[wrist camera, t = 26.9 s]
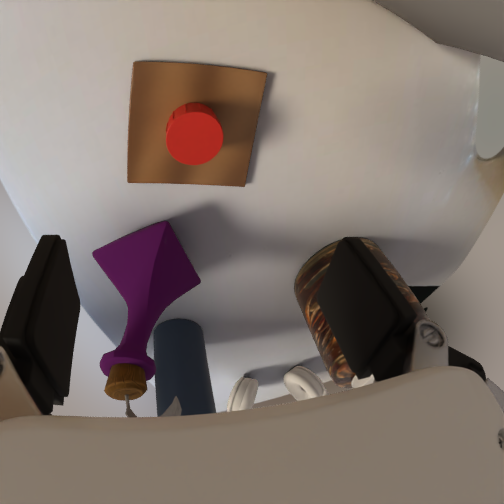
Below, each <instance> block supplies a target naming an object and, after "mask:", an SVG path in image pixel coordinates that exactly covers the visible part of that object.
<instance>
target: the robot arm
mask: <svg viewBox="0 0 504 504" xmlns="http://www.w3.org/2000/svg"><path fill="white" fill-rule="evenodd" d="M317 302H318V305H319V307H320V309H321V311H322V313H323V315H324V317H325V319H326V321H327V323H328V325H329V327H330V329H331V331H332V333H333V335H334V337H335V339H336V341H337V343H338V345H339V347H340V349H341V351H342V353H343V355H344V357H345V359H346V361H347V363H348V365H349V367H350V369H351V371H352V372H353V373H355V374H356V376H357V378H358V380H360V379H364V378H368V377H370V376H371V375H373V376H374V381H373V383H372V384H369V385H365V386H361V387H357V388H354V389H350V390H346V391H342V392H338V393H334V394H329V395H324V396H320V397H315V398H311V399H306V400H301V401H296V402H290V403H285V404H280V405H273V406H267V407H260V408H253V409H246V410H238V411H230V412H221V413H211V414H200V415H186V416H169V417H82V416H54V415H52V414H51V412H52V411H53V405H63V402H64V397H67V396H68V394H69V386H70V376H71V367H72V358H73V351H74V343H75V337H76V330H77V324H78V318H79V313H80V299H79V295H78V292H77V288H76V284H75V280H74V276H73V272H72V268H71V263H70V259H69V254H68V250H67V245H66V241H65V240H64V239H61V238H60V236H59V235H43V236H42V237H41V239H40V241H39V243H38V245H37V247H36V249H35V252H34V254H33V256H32V258H31V261H30V263H29V265H28V268H27V270H26V272H25V275H24V276H22V277H21V278H20V279H19V281H18V283H17V286H16V288H15V291H14V294H13V296H12V299H11V302H10V305H9V307H8V310H7V313H6V316H5V319H4V322H3V325H2V328H1V331H0V504H504V392H503V391H502V390H501V389H500V388H499V387H498V386H497V385H496V384H494V383H493V382H492V381H491V380H490V379H489V378H487V379H486V376H485V372H484V370H483V367H482V365H481V364H480V363H479V362H477V361H476V360H474V359H472V358H470V357H468V356H466V355H465V354H463V353H461V352H459V351H457V350H455V349H453V348H451V347H449V346H448V339H447V336H446V334H445V332H444V330H443V329H442V328H441V327H440V326H439V325H438V324H436V323H435V322H433V321H430V320H425V319H423V320H420V321H419V322H418V323H417V324H415V323H414V320H415V318H416V317H417V316H418V315H417V314H416V313H415V311H414V310H413V308H412V307H411V305H410V304H409V303H408V301H407V300H406V298H405V297H404V296H403V294H402V293H401V291H400V290H399V289H398V287H397V286H396V284H395V283H394V282H393V280H392V279H391V278H390V276H389V275H388V274H387V272H386V271H385V270H384V268H383V267H382V266H381V264H380V263H379V262H378V260H377V259H376V258H375V257H374V255H373V254H372V253H371V251H370V250H369V249H368V248H367V246H366V245H365V244H364V243H363V241H362V240H361V239H360V238H358V237H345V238H343V239H342V241H340V242H338V244H337V247H336V249H335V252H334V254H333V257H332V259H331V262H330V264H329V266H328V269H327V271H326V274H325V276H324V278H323V281H322V283H321V285H320V288H319V290H318V292H317Z"/></svg>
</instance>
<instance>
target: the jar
mask: <svg viewBox="0 0 504 504" xmlns="http://www.w3.org/2000/svg"><path fill="white" fill-rule="evenodd" d="M360 239H361V240H362V241H363V243H364V244H365V245H366V246H367V248H368V249H369V250H370V251H371V253H372V254H373V255H374V257H375V258H376V259H377V260H378V262H379V263H380V264H381V266H382V267H383V268H384V270H385V271H386V272H387V274H388V275H389V276H390V278H391V279H392V280H393V282H394V283H395V284H396V286H397V287H398V289H399V290H400V291H401V293H402V294H403V296H404V297H405V298H406V300H407V301H408V303H409V304H410V305H411V307H412V308H413V310H414V311H415V313H416V314H417V315H418V316H417V317H416V318H415V320H414V323H415V324H417V323H418V322H419V321H420V320H423V319H425V320H429V317H428V316H427V314H426V312H425V311H424V309H423V307H422V306H421V304H420V303H419V301H418V300H417V298H416V297H415V295H414V294H413V292H412V291H411V290H410V288H409V287H408V285H407V284H406V282H405V281H404V280H403V278H402V277H401V276H400V274H399V273H398V272H397V270H396V269H395V268H394V266H393V265H392V264H391V262H390V261H389V260H388V258H387V257H386V256H385V254H384V253H383V252H382V251H381V249H380V248H379V247H378V246H377V245H376V244H375V243H374V242H372V241H371V240H368V239H365V238H360ZM340 241H342V240H340ZM340 241H337V242H335V243H332V244H330V245H328V246H326V247H325V248H323V249H322V250H320V251H319V252H317V253H316V254H315V255H313V256H312V257H311V258H310V259H309V260H308V261H307V262H306V263H305V265H304V266H303V267H302V268H301V270H300V272H299V273H298V275H297V278H296V280H295V285H294V291H295V295H296V298H297V301H298V303H299V306H300V308H301V310H302V313H303V315H304V318H305V320H306V322H307V325H308V327H309V330H310V332H311V334H312V337H313V339H314V341H315V344H316V346H317V348H318V351H319V353H320V355H321V358H322V360H323V362H324V364H325V367H326V369H327V371H328V373H329V375H330V377H331V378H332V380H333V382H334V383H335V384H336V385H337V386H339V387H342V388H353V389H354V388H357V387H361V386H365V385H369V384H372V383H373V381H374V376H373V375H371V376H370V377H368V378H364V379H360V380H358V378H357V376H356V374H355V373H353V372H352V371H351V369H350V367H349V365H348V363H347V361H346V359H345V357H344V355H343V353H342V351H341V349H340V347H339V345H338V343H337V341H336V339H335V337H334V335H333V333H332V331H331V329H330V327H329V325H328V323H327V321H326V319H325V317H324V315H323V313H322V311H321V309H320V307H319V305H318V302H317V292H318V290H319V288H320V285H321V283H322V281H323V278H324V276H325V274H326V271H327V269H328V266H329V264H330V262H331V259H332V257H333V254H334V252H335V249H336V247H337V244H338V242H340Z"/></svg>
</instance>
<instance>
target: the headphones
mask: <svg viewBox="0 0 504 504" xmlns="http://www.w3.org/2000/svg"><path fill="white" fill-rule="evenodd" d="M283 380H284V384H285V386H286V388H287V390H288V391H289V392H290V394H291V395H292V396H293V397H294V398H295V399H297V400H298V401H301V400H306V399H311V398H315V397H320V396H324V395H329V393H328V391H327V390H326V388H325V386H324V385H323V383H322V381H321V380H320V378H319V377H318V376H317V375H316V374H315V373H313V372H312V371H310V370H309V369H307V368H305V367H302V366H296V367H294V368H293V369H292V370H290V371H289V372H287V373H286V374H285V375H284V379H283ZM257 390H258V381H257V380H256V379H250V378H244V377H241V378H240V379H239V380H238V381H237V382H236V383H235V385H234V387H233V389H232V391H231V393H230V396H229V399H228V404H227V411H228V412H230V411H238V410H246V409H252V407H253V404H254V401H255V398H256V394H257Z"/></svg>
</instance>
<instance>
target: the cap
mask: <svg viewBox="0 0 504 504" xmlns="http://www.w3.org/2000/svg"><path fill="white" fill-rule="evenodd" d="M222 144H223V130H222V126H221V124H220V122H219V120H218V119H217V117H216V115H215V113H214V112H213V111H212V109H211V108H209V107H208V106H206V105H204V104H200V103H187V104H184V105H182V106H180V107H178V108H177V109H176V110H175V111H173V113H172V114H171V116H170V118H169V120H168V123H167V127H166V146H167V149H168V151H169V153H170V154H171V155H172V157H173V158H174V159H176V160H177V161H179V162H181V163H183V164H187V165H200V164H204V163H206V162H208V161H210V160H211V159H213V158H214V157H215V156H216V155H217V154H218V152H219V151H220V149H221V147H222Z"/></svg>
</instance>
